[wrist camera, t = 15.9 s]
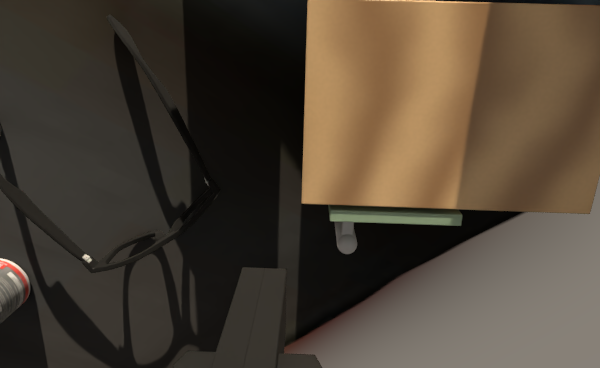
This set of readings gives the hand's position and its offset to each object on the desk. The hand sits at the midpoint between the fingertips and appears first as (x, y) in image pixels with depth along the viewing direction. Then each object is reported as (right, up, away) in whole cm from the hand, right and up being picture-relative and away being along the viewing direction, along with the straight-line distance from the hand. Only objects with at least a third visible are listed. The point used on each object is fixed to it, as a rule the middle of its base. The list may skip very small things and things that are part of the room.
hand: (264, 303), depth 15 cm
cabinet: (+11, +12, +21) cm, 27 cm away
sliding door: (+8, +4, +23) cm, 25 cm away
